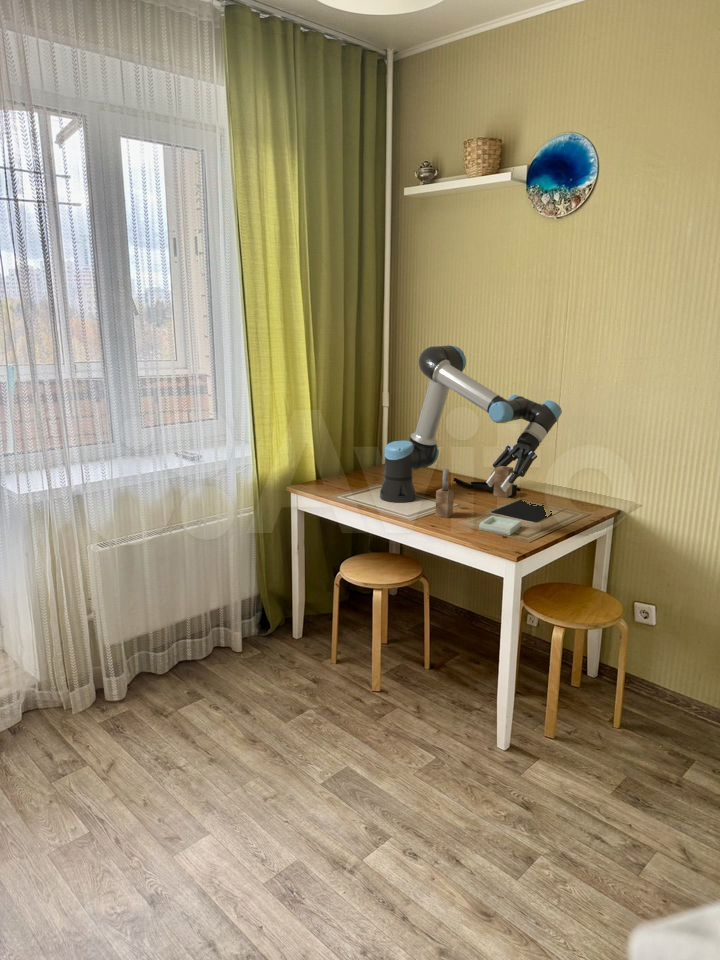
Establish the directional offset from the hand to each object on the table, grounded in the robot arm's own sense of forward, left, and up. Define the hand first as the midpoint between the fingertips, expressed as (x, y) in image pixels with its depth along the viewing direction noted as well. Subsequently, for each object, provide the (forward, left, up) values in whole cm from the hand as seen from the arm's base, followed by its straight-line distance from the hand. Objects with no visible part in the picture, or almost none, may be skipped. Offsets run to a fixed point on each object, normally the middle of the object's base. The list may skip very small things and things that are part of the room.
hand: (495, 486), depth 247 cm
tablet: (+2, +31, -17) cm, 36 cm away
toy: (-24, +51, -17) cm, 59 cm away
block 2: (+1, +3, -3) cm, 5 cm away
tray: (+1, +3, -16) cm, 17 cm away
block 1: (-23, +6, -16) cm, 28 cm away
